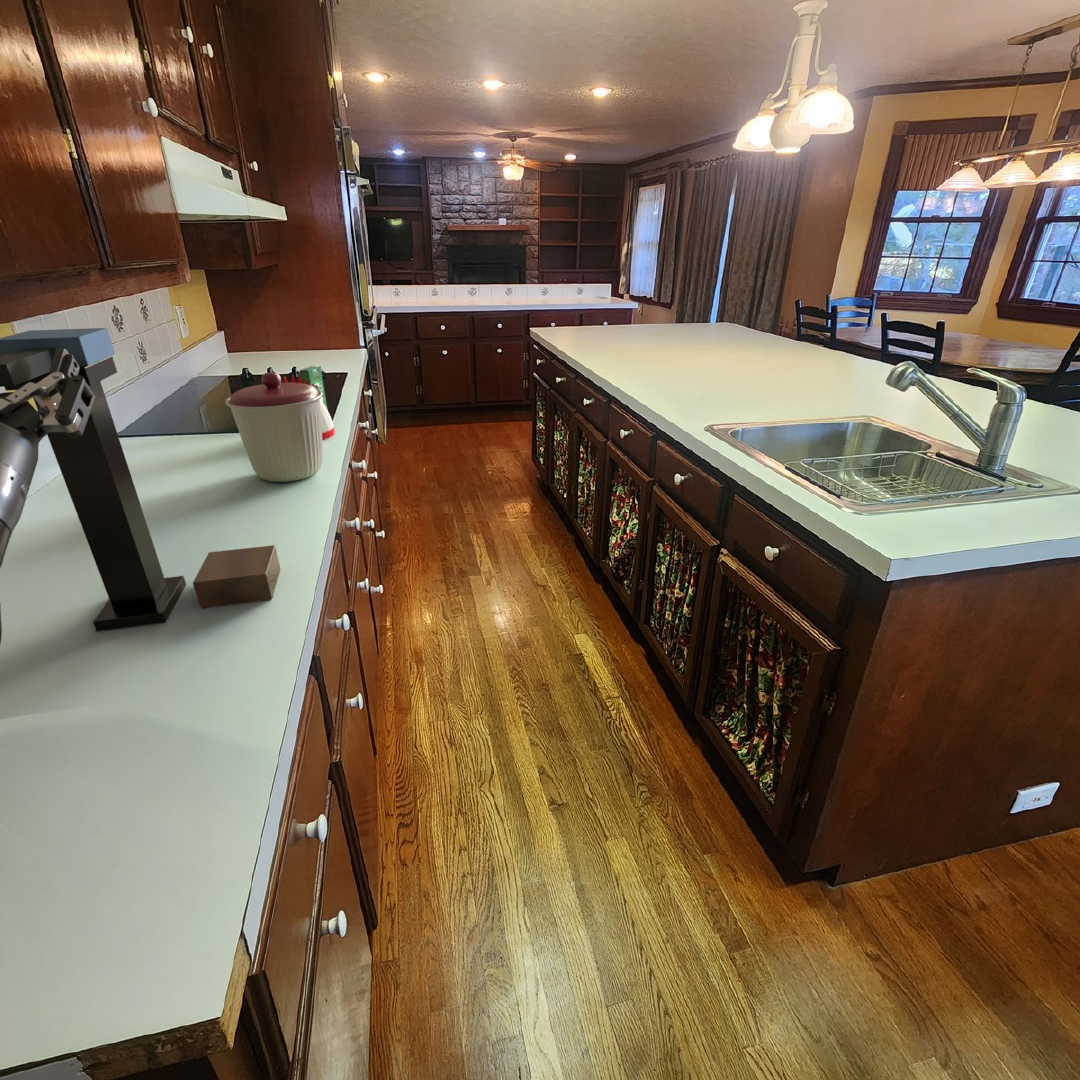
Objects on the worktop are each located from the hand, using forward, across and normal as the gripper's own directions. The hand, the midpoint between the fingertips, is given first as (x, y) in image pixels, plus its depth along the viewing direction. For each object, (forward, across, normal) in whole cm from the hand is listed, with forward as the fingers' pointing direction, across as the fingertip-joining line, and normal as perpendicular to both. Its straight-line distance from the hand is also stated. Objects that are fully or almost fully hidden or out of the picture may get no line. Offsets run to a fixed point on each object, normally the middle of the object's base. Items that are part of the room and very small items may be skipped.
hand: (17, 357), depth 60 cm
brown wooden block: (-9, -12, +34) cm, 37 cm away
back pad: (+2, 0, +3) cm, 4 cm away
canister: (+33, -13, +58) cm, 68 cm away
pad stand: (-10, 0, +33) cm, 35 cm away
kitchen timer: (+59, -14, +73) cm, 95 cm away
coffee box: (+77, -15, +84) cm, 115 cm away
